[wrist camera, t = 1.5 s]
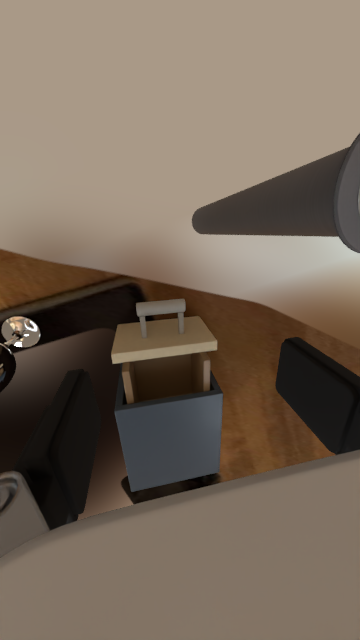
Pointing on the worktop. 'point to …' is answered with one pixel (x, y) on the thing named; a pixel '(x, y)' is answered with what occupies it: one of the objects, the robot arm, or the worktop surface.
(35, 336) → the wineglass
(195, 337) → the drawer
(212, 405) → the cabinet
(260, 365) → the worktop surface
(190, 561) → the robot arm
